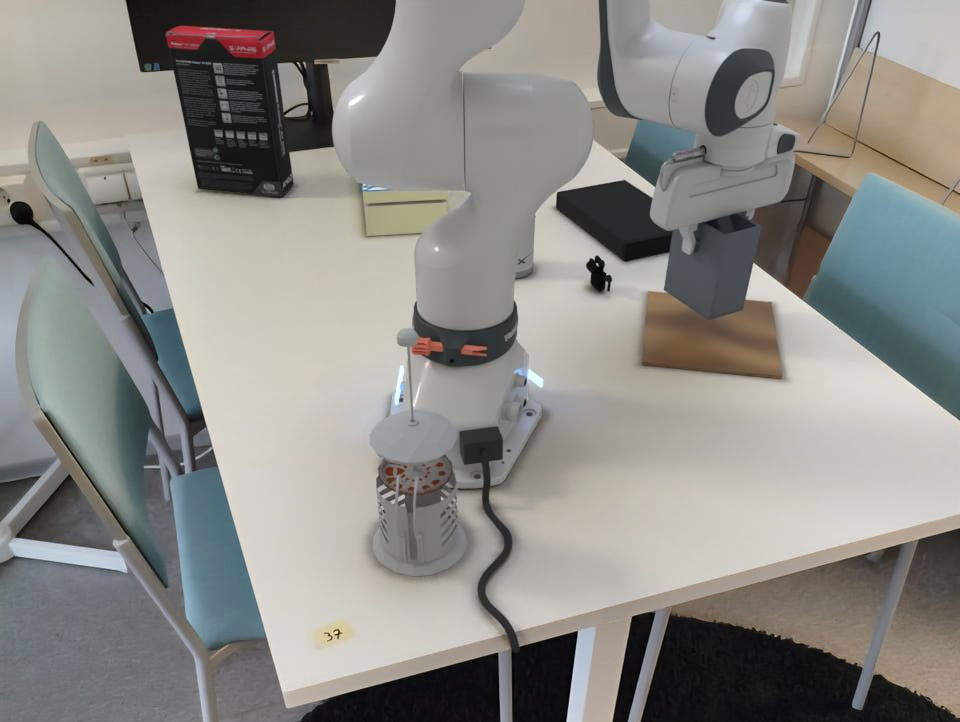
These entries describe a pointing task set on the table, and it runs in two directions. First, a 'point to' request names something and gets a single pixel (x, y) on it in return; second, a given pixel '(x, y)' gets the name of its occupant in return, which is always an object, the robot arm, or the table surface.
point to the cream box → (401, 210)
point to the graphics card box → (232, 109)
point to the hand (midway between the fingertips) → (711, 245)
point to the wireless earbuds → (598, 274)
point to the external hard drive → (616, 218)
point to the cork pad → (711, 338)
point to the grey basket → (714, 266)
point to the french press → (416, 488)
